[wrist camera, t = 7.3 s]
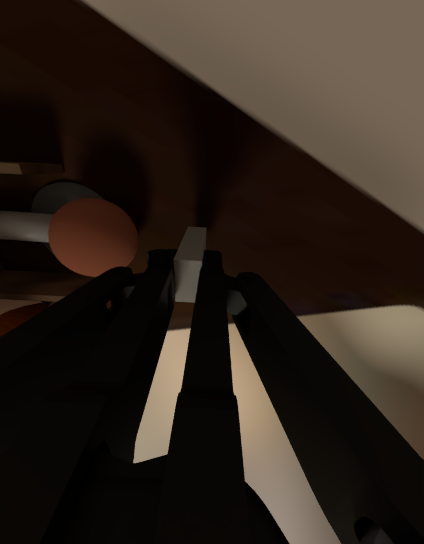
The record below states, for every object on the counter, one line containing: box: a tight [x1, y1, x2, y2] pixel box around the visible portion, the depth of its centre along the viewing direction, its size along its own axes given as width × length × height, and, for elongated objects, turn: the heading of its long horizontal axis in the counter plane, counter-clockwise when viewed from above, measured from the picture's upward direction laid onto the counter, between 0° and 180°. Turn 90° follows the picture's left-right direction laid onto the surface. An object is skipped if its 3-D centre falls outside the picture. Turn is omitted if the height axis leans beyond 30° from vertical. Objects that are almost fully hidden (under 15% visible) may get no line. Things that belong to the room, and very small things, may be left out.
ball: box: [48, 198, 138, 277], centre depth 16 cm, size 6×6×6 cm
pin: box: [0, 210, 54, 242], centre depth 17 cm, size 3×3×8 cm
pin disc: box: [31, 182, 105, 254], centre depth 18 cm, size 8×8×1 cm
